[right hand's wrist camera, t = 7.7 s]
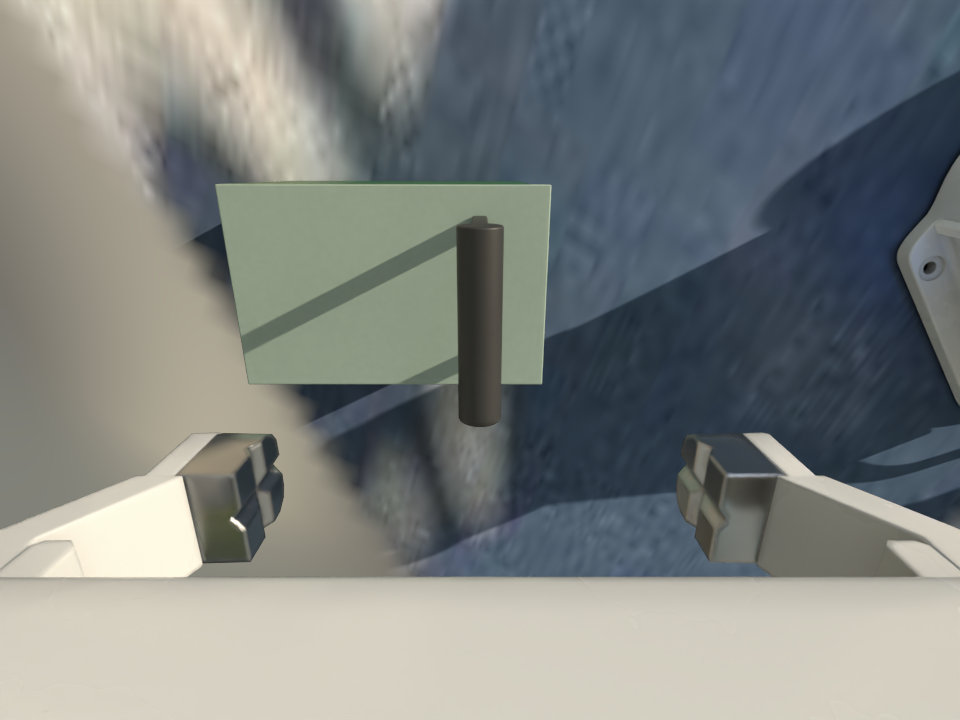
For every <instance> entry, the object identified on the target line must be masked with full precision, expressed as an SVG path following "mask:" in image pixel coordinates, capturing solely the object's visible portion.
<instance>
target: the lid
mask: <svg viewBox="0 0 960 720" xmlns="http://www.w3.org/2000/svg"><path fill="white" fill-rule="evenodd" d="M215 188H216V193H217V199H218V205H219V211H220V217H221V223H222V229H223V235H224V241H225V247H226V253H227V259H228V265H229V271H230V277H231V283H232V288H233V294H234V300H235V306H236V312H237V318H238V324H239V330H240V336H241V342H242V348H243V354H244V360H245V366H246V372H247V378H248V383H249V384H458V396H459V419H460V421H461V422H462V423H464V424H466V425H469V426H474V427H485V426H490V425H493V424H496V423H497V422H498V421H499V420H500V418H501V384H542V371H543V349H544V328H545V307H546V286H547V265H548V244H549V223H550V202H551V185H547V184H216V185H215Z"/></svg>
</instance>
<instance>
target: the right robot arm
mask: <svg viewBox="0 0 960 720" xmlns="http://www.w3.org/2000/svg"><path fill="white" fill-rule="evenodd" d="M897 263H898V266H899V268H900V270H901V273H902V275H903V277H904V280H905V282H906V284H907V287H908V289H909V292H910V294H911V296H912V299H913V301H914V303H915V306H916V308H917V310H918V313H919V315H920V317H921V320H922V322H923V324H924V327H925V329H926V332H927V334H928V336H929V339H930V341H931V343H932V346H933V348H934V350H935V353H936V355H937V357H938V360H939V362H940V364H941V367H942V369H943V372H944V374H945V376H946V379H947V381H948V383H949V386H950V388H951V390H952V393H953V395H954V397H955V399H956V401H957V403H958V404H959V406H960V155H959V156H958V158H957V159H956V161H955V162H954V164H953V165H952V167H951V169H950V170H949V172H948V174H947V176H946V178H945V180H944V181H943V184H942V186H941V188H940V190H939V192H938V195H937V197H936V199H935V201H934V203H933V205H932V207H931V209H930V210H929V212H928V213H927V215H926V216H925V217H924V218H923V219H922V220H921V221H920V222H919V223H918V225H917V226H916V227H915V228H914V229H913V230H912V231H911V232H910V234H909V235H908V236H907V237H906V238H905V240H904V241H903V242H902V244H901V246H900V247H899V250H898V252H897ZM927 263H928V265H927V268H926V269H925V270H924V271H923V268H924V266H925V265H926V264H927ZM278 456H279V450H278V446H277V440H276V439H275V437H274V436H273V435H272V434H236V433H222V434H221V433H196V434H191V435H190V436H189V437H187V438H186V439H185V440H184V441H183V442H182V443H181V444H180V445H178V446H177V447H176V448H175V449H174V450H173V451H172V452H171V453H169V454H168V455H167V456H166V457H165V458H164V459H163V460H162V461H160V462H159V463H158V464H157V465H156V466H155V467H154V468H153V469H152V470H150V471H149V472H148V473H147V474H146V475H145V476H134V477H132V478H129V479H127V480H124V481H122V482H119V483H116V484H114V485H111V486H109V487H106V488H104V489H101V490H99V491H96V492H94V493H91V494H89V495H86V496H83V497H81V498H78V499H76V500H73V501H71V502H68V503H66V504H63V505H61V506H58V507H56V508H53V509H51V510H48V511H45V512H43V513H40V514H38V515H35V516H33V517H30V518H28V519H25V520H23V521H20V522H17V523H15V524H12V525H10V526H7V527H5V528H2V529H0V720H960V529H957V528H955V527H952V526H950V525H947V524H945V523H942V522H940V521H937V520H935V519H932V518H930V517H927V516H924V515H922V514H919V513H917V512H914V511H912V510H909V509H907V508H904V507H902V506H899V505H897V504H894V503H892V502H889V501H886V500H884V499H881V498H879V497H876V496H874V495H871V494H869V493H866V492H864V491H861V490H859V489H856V488H854V487H851V486H849V485H846V484H843V483H841V482H838V481H836V480H833V479H831V478H828V477H826V476H815V475H814V474H813V473H812V472H811V471H810V470H809V469H807V468H806V467H805V466H804V465H803V464H802V463H801V462H800V461H798V460H797V459H796V458H795V457H794V456H793V455H792V454H791V453H790V452H788V451H787V450H786V449H785V448H784V447H783V446H782V445H781V444H779V443H778V442H777V441H776V440H775V439H774V438H773V437H772V436H771V435H769V434H766V433H722V434H691V435H686V437H685V439H684V441H683V444H682V450H681V456H682V457H683V459H684V460H685V462H686V463H687V465H686V466H685V467H684V468H683V469H682V470H681V471H680V472H679V473H678V475H677V484H676V495H677V503H678V507H679V510H680V513H681V514H682V516H683V518H684V520H685V521H686V522H687V523H689V524H691V525H692V526H694V527H695V528H696V532H695V539H696V540H697V542H698V544H699V545H700V547H701V549H702V550H703V552H704V553H705V555H706V557H707V558H708V560H709V562H729V563H757V566H759V567H760V568H761V569H763V570H764V571H765V572H767V573H768V574H769V575H771V576H772V577H188V576H189V575H191V574H192V573H193V572H195V571H196V570H198V569H199V568H200V567H202V566H203V563H230V562H251V560H252V559H253V557H254V555H255V553H256V552H257V550H258V549H259V547H260V545H261V543H262V542H263V540H264V538H265V532H264V528H265V527H266V526H268V525H269V524H271V523H273V522H274V521H275V520H276V518H277V516H278V514H279V512H280V510H281V506H282V502H283V498H284V482H283V475H282V473H281V472H280V471H279V470H278V469H277V468H276V467H275V466H274V465H273V463H274V462H275V460H276V459H277V457H278Z"/></svg>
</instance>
